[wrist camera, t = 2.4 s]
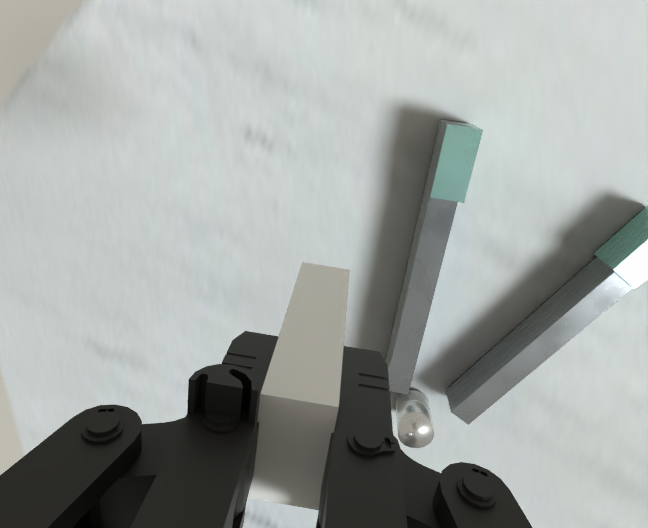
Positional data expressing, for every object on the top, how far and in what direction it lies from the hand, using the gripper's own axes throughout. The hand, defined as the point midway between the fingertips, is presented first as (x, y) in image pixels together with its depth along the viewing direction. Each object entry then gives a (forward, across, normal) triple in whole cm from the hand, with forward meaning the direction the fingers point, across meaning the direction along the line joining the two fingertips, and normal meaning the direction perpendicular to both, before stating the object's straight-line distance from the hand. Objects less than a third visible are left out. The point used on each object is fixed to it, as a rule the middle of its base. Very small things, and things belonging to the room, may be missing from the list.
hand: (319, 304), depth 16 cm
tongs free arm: (+16, +6, -4) cm, 17 cm away
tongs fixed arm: (+16, +13, -7) cm, 22 cm away
